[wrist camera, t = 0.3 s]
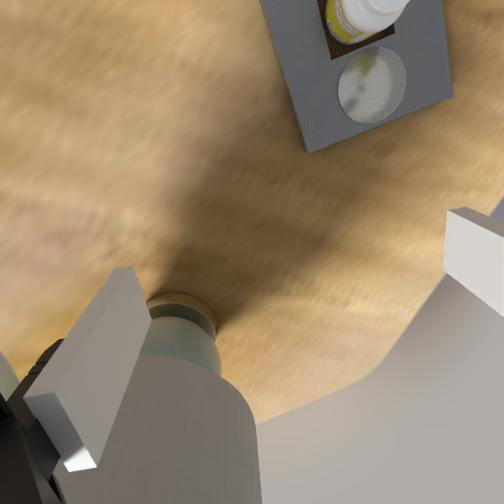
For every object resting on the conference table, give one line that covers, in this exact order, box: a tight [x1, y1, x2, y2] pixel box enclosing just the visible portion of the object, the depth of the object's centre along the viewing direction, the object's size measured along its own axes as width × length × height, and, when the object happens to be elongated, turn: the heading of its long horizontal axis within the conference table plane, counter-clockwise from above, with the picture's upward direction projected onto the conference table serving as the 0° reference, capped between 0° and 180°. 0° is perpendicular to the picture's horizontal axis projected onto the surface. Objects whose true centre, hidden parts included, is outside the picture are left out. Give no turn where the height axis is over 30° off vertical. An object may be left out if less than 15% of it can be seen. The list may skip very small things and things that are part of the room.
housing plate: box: [259, 0, 453, 154], centre depth 32 cm, size 22×16×2 cm
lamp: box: [53, 293, 262, 504], centre depth 31 cm, size 20×20×35 cm
